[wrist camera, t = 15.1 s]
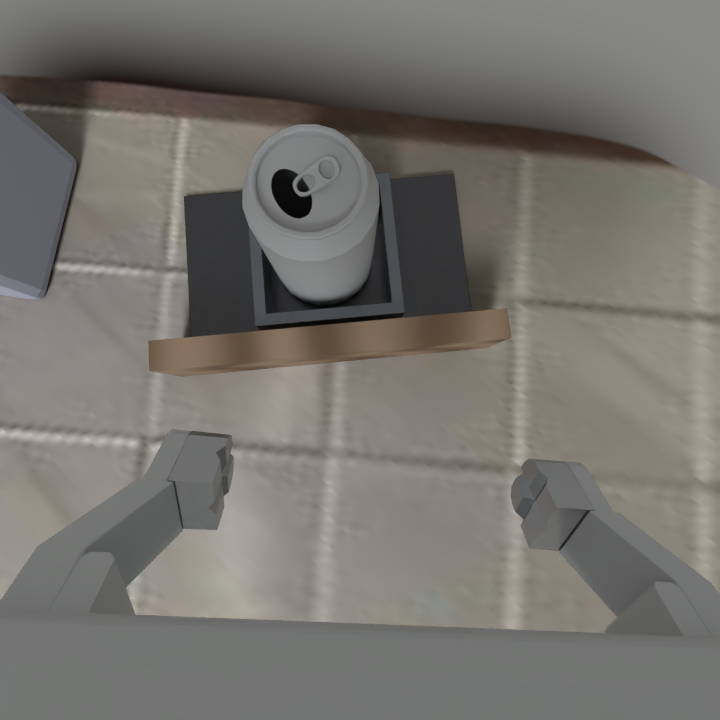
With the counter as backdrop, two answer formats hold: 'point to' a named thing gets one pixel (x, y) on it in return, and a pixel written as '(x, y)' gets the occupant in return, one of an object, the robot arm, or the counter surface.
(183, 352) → the wooden plank
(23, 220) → the soap bottle
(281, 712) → the robot arm
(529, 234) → the counter surface
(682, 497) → the counter surface
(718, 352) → the counter surface
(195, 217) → the socket
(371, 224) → the can
